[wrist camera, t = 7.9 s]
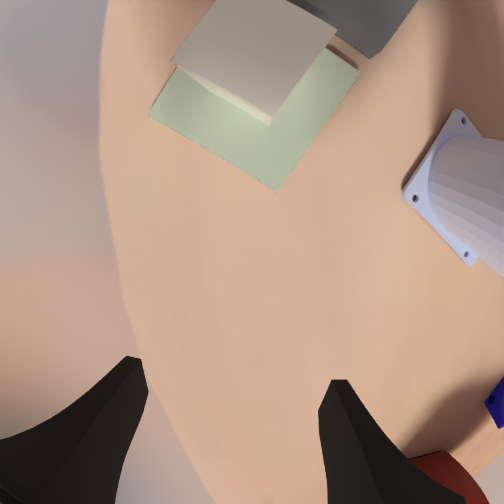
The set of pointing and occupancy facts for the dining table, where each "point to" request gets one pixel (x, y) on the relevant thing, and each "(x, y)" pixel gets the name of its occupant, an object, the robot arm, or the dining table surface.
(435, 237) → the dining table surface
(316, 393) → the dining table surface
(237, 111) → the mat
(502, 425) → the cable clip
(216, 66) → the plug
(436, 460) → the plant pot
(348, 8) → the gray square hole board
